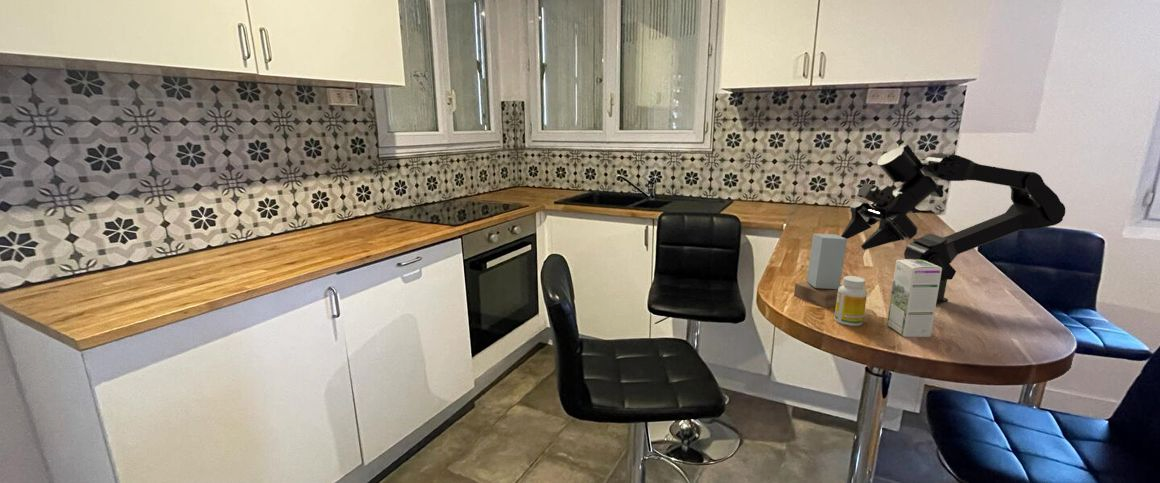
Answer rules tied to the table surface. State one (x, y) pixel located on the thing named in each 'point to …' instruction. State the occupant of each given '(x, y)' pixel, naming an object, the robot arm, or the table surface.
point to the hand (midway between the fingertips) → (851, 243)
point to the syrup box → (914, 297)
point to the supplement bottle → (851, 301)
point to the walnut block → (816, 294)
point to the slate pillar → (826, 261)
